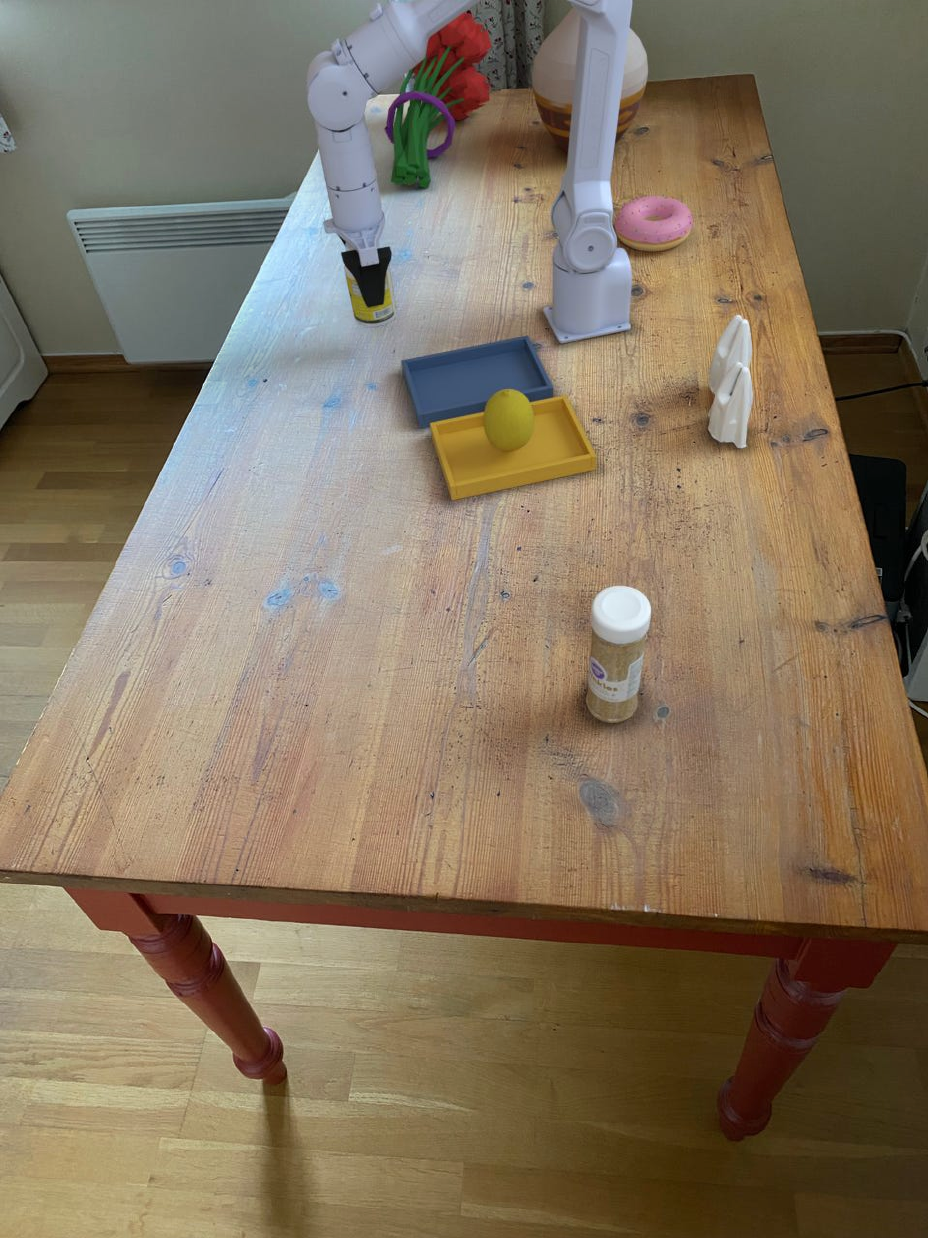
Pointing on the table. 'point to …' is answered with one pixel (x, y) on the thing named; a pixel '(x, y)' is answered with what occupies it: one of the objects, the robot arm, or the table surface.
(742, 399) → the shaker set
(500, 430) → the lemon
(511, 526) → the table surface
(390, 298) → the supplement bottle
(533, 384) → the blue tray
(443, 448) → the yellow tray
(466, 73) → the bouquet
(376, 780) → the table surface
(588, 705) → the sprinkles bottle
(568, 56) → the jug
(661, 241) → the doughnut
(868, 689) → the table surface
